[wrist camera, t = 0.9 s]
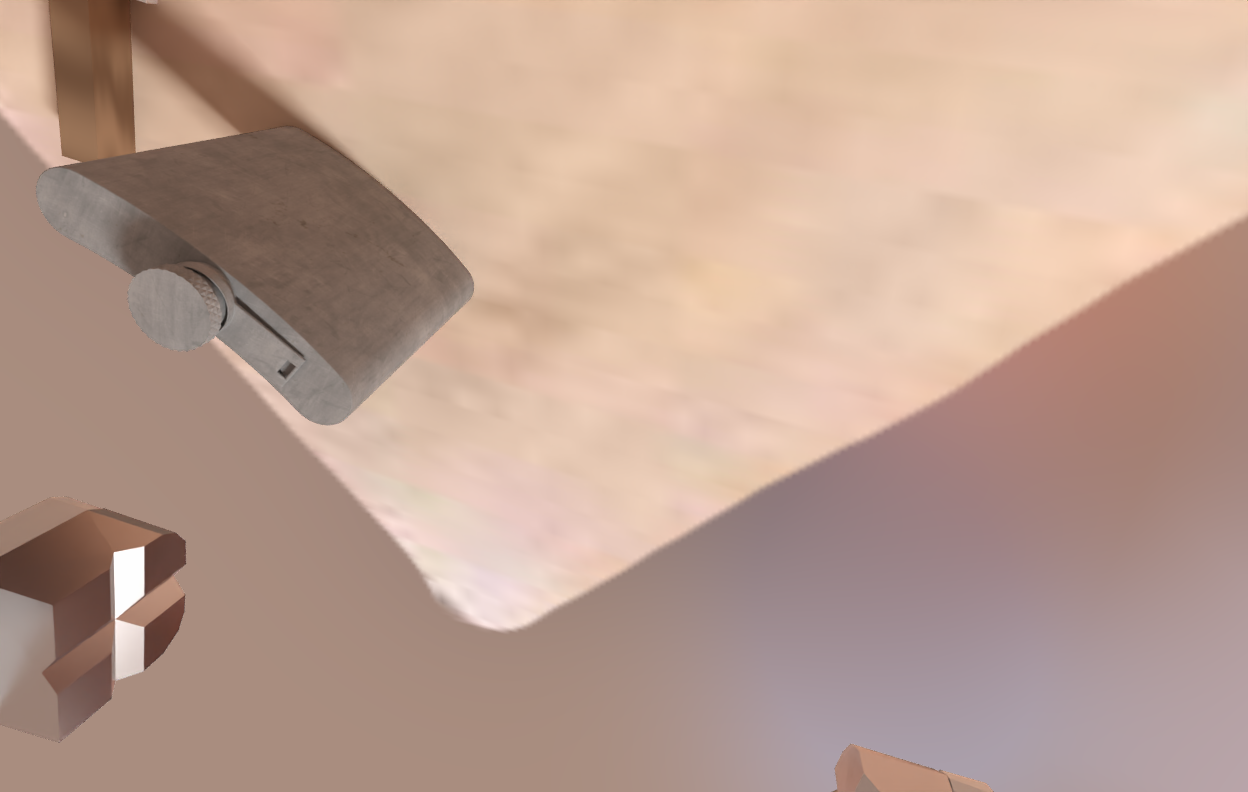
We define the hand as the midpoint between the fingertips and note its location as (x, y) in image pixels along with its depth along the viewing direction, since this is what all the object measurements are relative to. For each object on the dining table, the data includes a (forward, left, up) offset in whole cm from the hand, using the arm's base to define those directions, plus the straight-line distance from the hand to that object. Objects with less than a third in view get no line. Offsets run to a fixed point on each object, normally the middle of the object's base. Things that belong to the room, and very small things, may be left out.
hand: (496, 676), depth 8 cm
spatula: (+1, -36, -39) cm, 54 cm away
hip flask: (+9, -18, -39) cm, 44 cm away
